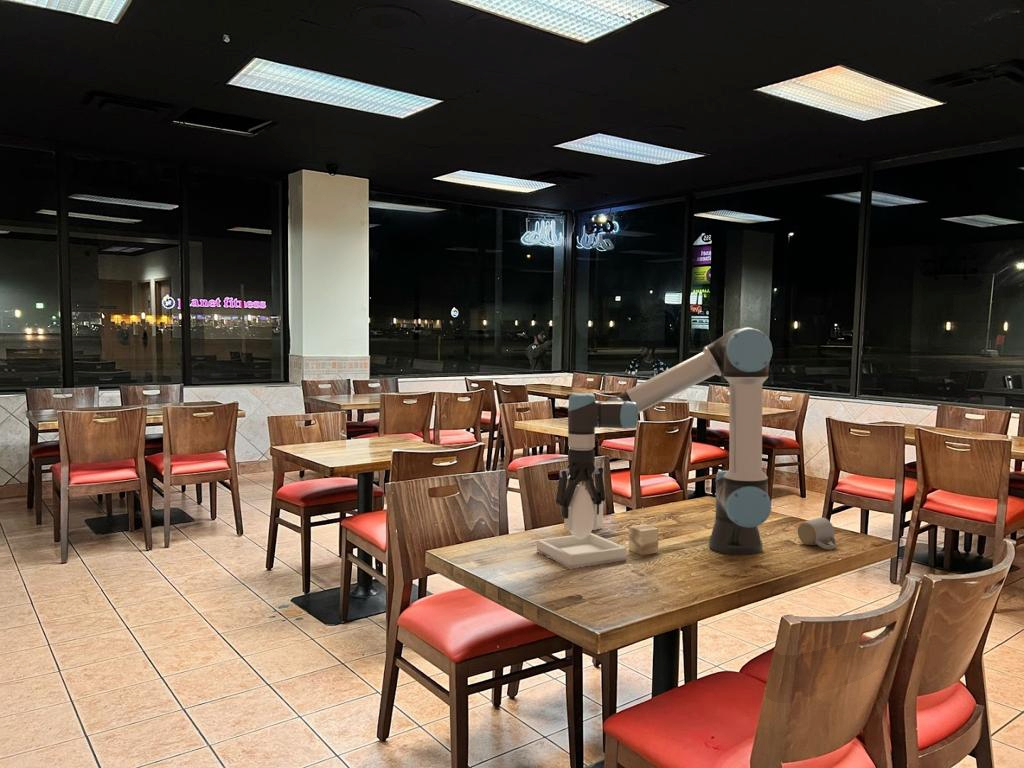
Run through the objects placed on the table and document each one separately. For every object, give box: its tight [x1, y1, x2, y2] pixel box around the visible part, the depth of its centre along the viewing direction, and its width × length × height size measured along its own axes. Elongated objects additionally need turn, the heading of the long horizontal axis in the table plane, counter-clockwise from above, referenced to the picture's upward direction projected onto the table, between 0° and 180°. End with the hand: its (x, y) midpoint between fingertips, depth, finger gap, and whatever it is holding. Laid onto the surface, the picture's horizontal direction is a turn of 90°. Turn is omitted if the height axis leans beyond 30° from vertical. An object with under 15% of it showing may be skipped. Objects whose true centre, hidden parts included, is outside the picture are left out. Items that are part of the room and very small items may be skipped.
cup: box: [592, 501, 604, 531], centre depth 241 cm, size 10×10×10 cm
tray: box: [536, 532, 627, 570], centre depth 210 cm, size 18×18×4 cm
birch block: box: [628, 523, 659, 556], centre depth 214 cm, size 6×6×7 cm
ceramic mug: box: [797, 517, 837, 551], centre depth 220 cm, size 11×8×8 cm
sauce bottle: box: [569, 481, 595, 540], centre depth 209 cm, size 8×8×18 cm
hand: (580, 527), depth 209 cm, fingers closed on sauce bottle, 8 cm apart
